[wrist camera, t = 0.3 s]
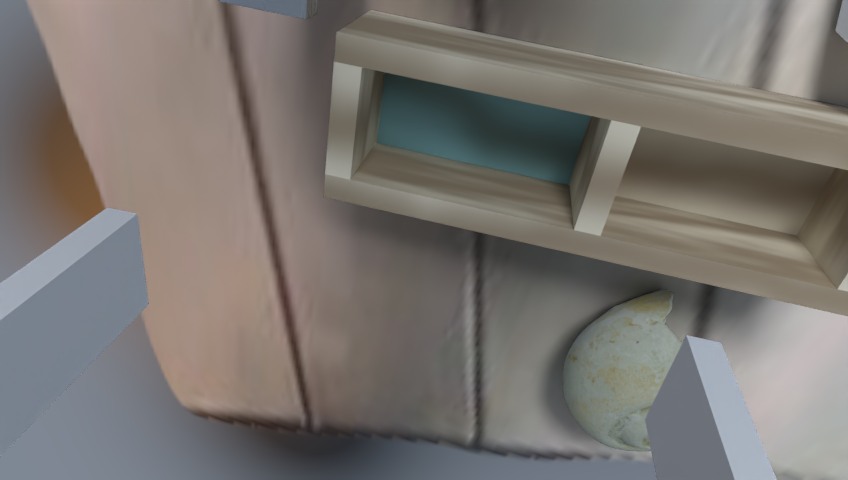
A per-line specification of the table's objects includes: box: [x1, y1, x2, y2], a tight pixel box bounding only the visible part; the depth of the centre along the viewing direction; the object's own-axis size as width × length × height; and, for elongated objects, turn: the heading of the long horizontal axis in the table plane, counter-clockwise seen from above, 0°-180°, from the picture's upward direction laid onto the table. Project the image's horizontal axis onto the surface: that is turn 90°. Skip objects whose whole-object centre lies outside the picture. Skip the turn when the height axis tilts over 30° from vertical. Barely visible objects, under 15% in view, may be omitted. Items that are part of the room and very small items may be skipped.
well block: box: [323, 10, 848, 316], centre depth 34 cm, size 10×30×7 cm, turn 81°
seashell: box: [563, 289, 683, 451], centre depth 42 cm, size 13×8×10 cm
